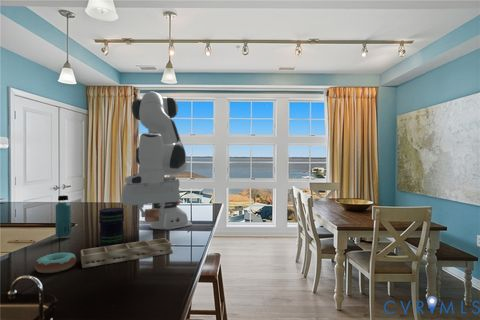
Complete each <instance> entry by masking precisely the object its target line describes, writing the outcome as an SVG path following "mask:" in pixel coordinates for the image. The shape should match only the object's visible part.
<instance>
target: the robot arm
mask: <svg viewBox="0 0 480 320" xmlns="http://www.w3.org/2000/svg"><path fill="white" fill-rule="evenodd" d="M130 108H131V109H130V110H131V113H132V115H133V118H134V119H136V120H138V121H139V122H140V123H141V125H142V126H143V127H144V128H145V129H147V131H148V132H145V133H144V132H143V133H142V134H140V136H139V142H138V143H139V144H138V147H137V148H136V149H135V162H136V164H138V165H139V166H138V173H134V174H132V175H129V176H126V177H125V178H124V182H125V184H124V185H123V187H122V190H121V197H120V201H121V205H123V206H124V207H128V206H137V208H138V209H139V211H140V213H141V215H140V216H141V217H142V218H145V217H147V215H146V214H147V212H146V211H145V210H144V209H143V208H144V205H151V209H155V208H156V209H158V210H159V221H156V222H150V226H149V227H150V229H154V230H174V229H179V228H184V227H185V228H186V227H190V226H191V227H192V226H193V222H192V221H190V220H189V218H188V215H187V213H186V212H185V211H183V210H182V209H181V208H180V207H179V205H180V204H181V203H180V202H181V201H180V198H181V193H180V189H179V188H180V179H178V178H177V177H175V176H178V175H181V174H184V173H185V171H186V169H187V164H188V163H187V161H186V159H187V153H186V149H185V146H184V145H183V143H182V140H181V138H180V134H179V130H178V129H177V125H176V123H175V121H174V119H173V118H175V117H176V116H177V115H178V111H179V105H178V102H177V101H176V98H174V97H172V96H162V95H161V94H160V93H158V92H155V91H148V92H146V93H144V94H143V95H142V98H136V99H134V100H133V101H132V103H131V107H130ZM168 176H171V177H168Z"/></svg>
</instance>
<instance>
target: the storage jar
mask: <svg viewBox="0 0 480 320" xmlns="http://www.w3.org/2000/svg"><path fill="white" fill-rule="evenodd" d="M98 212H99V216H98V219H99V220H98V222H99V233H98V234H99V236H98V240H99V247H104V246H112V245H119V244H125V241H124V239H125V232H124V231H125V230H124V220H125V219H124V218H125V212H124V208H123V207H108V208H107V207H106V208H102V209H99V211H98Z"/></svg>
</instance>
